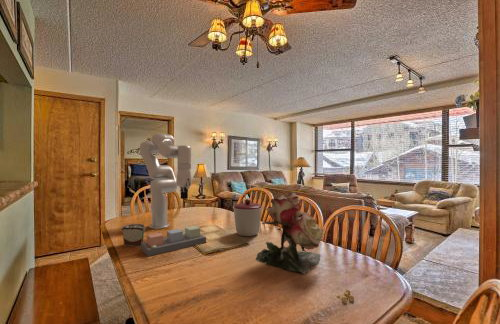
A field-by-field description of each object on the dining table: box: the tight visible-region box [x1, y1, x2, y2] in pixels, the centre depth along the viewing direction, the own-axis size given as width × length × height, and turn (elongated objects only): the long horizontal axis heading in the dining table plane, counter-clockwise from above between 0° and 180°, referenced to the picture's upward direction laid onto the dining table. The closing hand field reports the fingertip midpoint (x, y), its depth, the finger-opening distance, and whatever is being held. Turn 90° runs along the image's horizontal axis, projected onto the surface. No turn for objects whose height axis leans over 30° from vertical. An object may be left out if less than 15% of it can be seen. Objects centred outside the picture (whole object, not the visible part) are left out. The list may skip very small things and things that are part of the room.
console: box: [140, 233, 207, 257], centre depth 125 cm, size 12×30×4 cm, turn 129°
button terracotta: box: [146, 232, 164, 248], centre depth 118 cm, size 6×6×5 cm
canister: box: [232, 198, 264, 237], centre depth 145 cm, size 18×18×21 cm
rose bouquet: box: [255, 191, 324, 275], centre depth 109 cm, size 26×29×30 cm
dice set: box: [336, 289, 355, 304], centre depth 78 cm, size 5×5×2 cm
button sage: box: [184, 225, 201, 239], centre depth 131 cm, size 6×6×5 cm
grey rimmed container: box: [121, 223, 146, 247], centre depth 127 cm, size 12×6×10 cm, turn 84°
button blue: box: [166, 228, 184, 243], centre depth 125 cm, size 6×6×5 cm
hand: (184, 198), depth 139 cm, fingers closed
